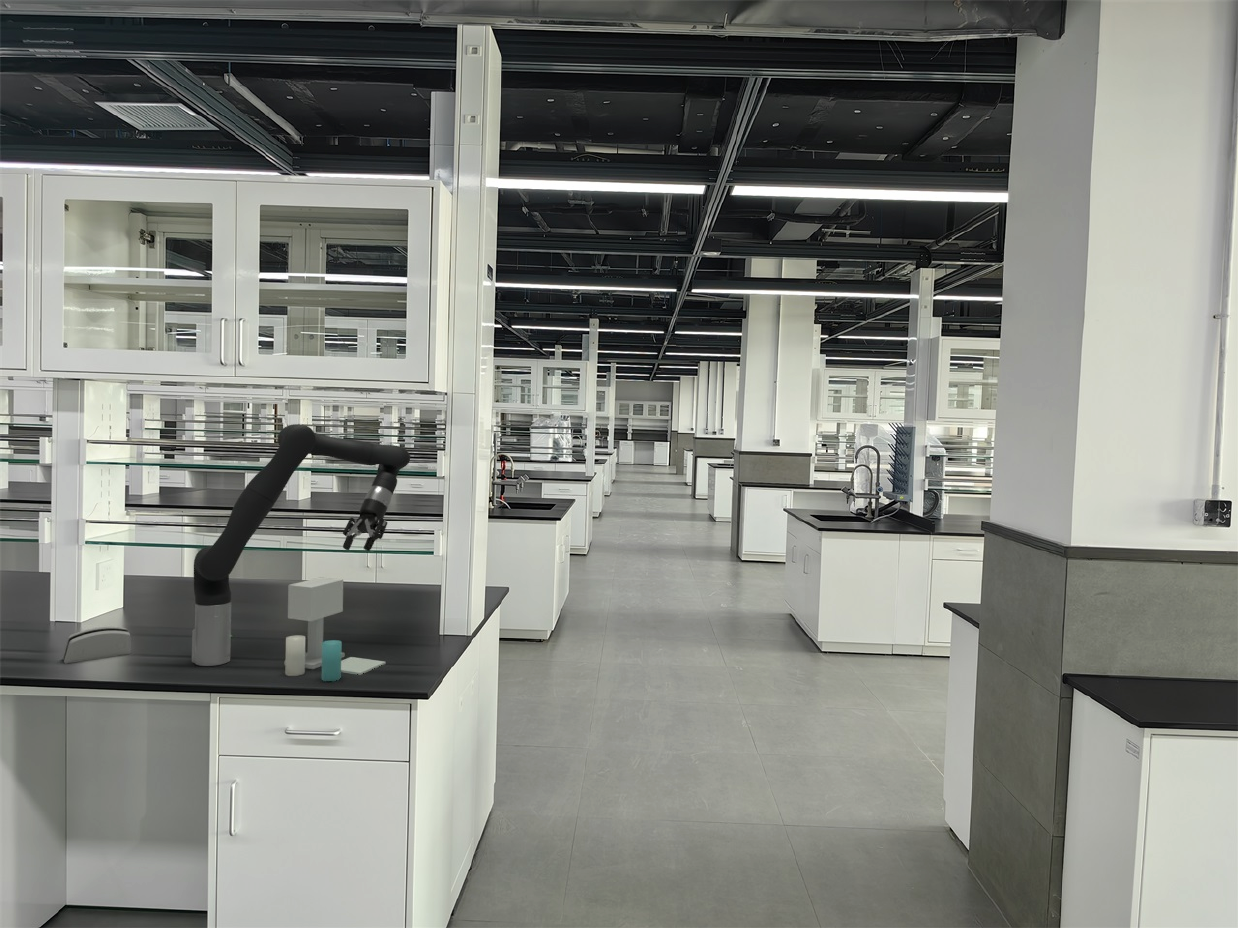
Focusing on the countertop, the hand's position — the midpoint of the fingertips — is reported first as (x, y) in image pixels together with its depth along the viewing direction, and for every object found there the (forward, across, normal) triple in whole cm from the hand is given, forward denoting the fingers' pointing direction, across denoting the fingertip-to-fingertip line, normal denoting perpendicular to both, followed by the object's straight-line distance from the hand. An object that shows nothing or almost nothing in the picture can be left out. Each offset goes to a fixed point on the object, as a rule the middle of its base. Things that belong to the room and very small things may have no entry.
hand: (355, 549), depth 247 cm
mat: (+33, +9, +9) cm, 35 cm away
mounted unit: (+33, -4, +7) cm, 34 cm away
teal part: (+39, +12, -1) cm, 41 cm away
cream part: (+40, 0, -3) cm, 40 cm away
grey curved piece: (+48, -57, -21) cm, 77 cm away
